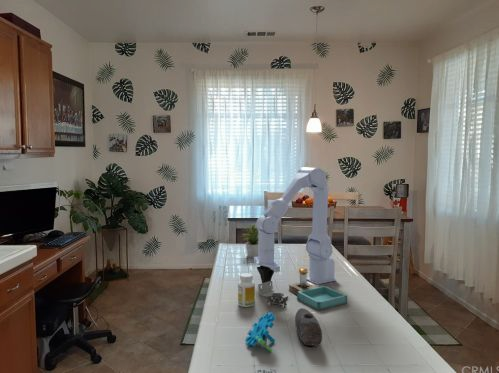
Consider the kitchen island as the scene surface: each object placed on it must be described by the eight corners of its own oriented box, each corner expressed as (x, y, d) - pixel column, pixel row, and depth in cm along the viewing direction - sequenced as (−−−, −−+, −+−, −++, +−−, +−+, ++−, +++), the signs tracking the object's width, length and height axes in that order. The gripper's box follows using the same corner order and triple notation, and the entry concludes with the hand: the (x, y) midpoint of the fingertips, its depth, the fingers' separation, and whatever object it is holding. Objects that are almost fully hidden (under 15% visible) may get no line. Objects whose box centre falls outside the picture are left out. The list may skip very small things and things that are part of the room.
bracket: (278, 302, 123) (278, 292, 122) (258, 294, 130) (258, 284, 130) (292, 297, 127) (292, 287, 127) (271, 289, 135) (271, 280, 134)
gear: (245, 326, 101) (271, 303, 99) (261, 341, 102) (287, 318, 100) (241, 353, 90) (270, 328, 88) (258, 369, 91) (288, 344, 89)
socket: (304, 287, 137) (304, 281, 137) (317, 293, 131) (317, 287, 131) (289, 290, 134) (289, 284, 133) (301, 296, 128) (301, 290, 127)
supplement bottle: (256, 302, 123) (257, 273, 122) (251, 308, 118) (251, 278, 117) (241, 300, 124) (241, 271, 124) (235, 306, 119) (235, 276, 119)
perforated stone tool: (290, 324, 106) (291, 301, 106) (309, 324, 107) (309, 300, 106) (302, 352, 91) (302, 324, 91) (323, 351, 92) (324, 323, 91)
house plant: (236, 251, 188) (236, 219, 187) (263, 251, 190) (263, 219, 188) (238, 259, 174) (238, 224, 173) (267, 258, 175) (268, 224, 174)
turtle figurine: (263, 309, 118) (263, 295, 118) (269, 302, 124) (269, 288, 124) (310, 316, 113) (310, 302, 112) (314, 308, 119) (314, 294, 119)
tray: (324, 292, 131) (324, 285, 131) (347, 303, 122) (347, 295, 122) (297, 298, 125) (297, 291, 125) (318, 310, 116) (318, 302, 116)
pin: (303, 289, 134) (304, 267, 134) (309, 292, 132) (309, 270, 131) (297, 291, 133) (297, 269, 132) (302, 293, 130) (302, 271, 130)
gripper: (246, 246, 138) (246, 282, 139) (267, 255, 125) (267, 294, 126) (262, 244, 141) (262, 279, 143) (285, 252, 129) (284, 291, 130)
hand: (266, 286), depth 135 cm, fingers closed
